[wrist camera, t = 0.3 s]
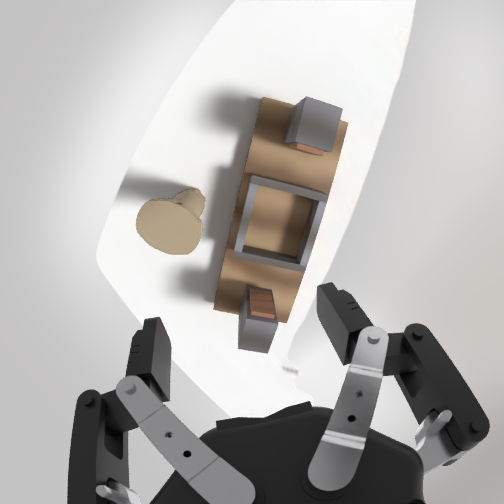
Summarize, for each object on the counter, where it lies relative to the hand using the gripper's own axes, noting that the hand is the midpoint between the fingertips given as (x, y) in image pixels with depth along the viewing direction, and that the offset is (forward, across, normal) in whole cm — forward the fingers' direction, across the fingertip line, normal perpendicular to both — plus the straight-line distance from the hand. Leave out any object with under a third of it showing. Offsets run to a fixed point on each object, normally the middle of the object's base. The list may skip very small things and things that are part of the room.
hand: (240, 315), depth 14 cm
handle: (+29, +3, +2) cm, 29 cm away
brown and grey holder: (+26, -8, +7) cm, 28 cm away
